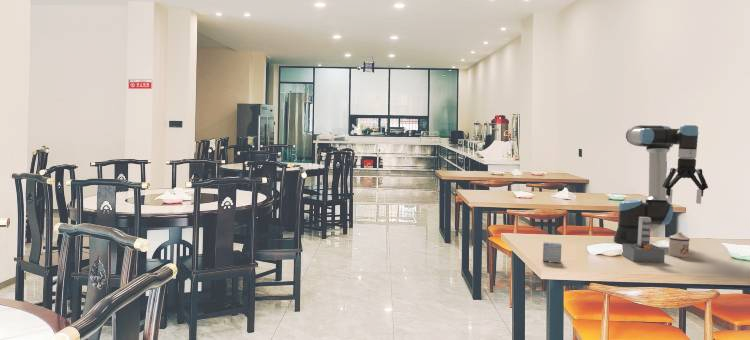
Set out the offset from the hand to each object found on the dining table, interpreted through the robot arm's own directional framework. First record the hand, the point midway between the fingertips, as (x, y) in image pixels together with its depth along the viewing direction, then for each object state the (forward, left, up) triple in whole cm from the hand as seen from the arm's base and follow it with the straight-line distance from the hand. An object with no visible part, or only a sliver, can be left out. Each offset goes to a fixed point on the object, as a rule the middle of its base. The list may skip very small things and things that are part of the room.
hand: (683, 203), depth 277 cm
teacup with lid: (-13, +6, -28) cm, 31 cm away
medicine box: (+11, -63, -28) cm, 70 cm away
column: (-1, -17, -28) cm, 32 cm away
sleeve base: (-1, -17, -28) cm, 32 cm away
